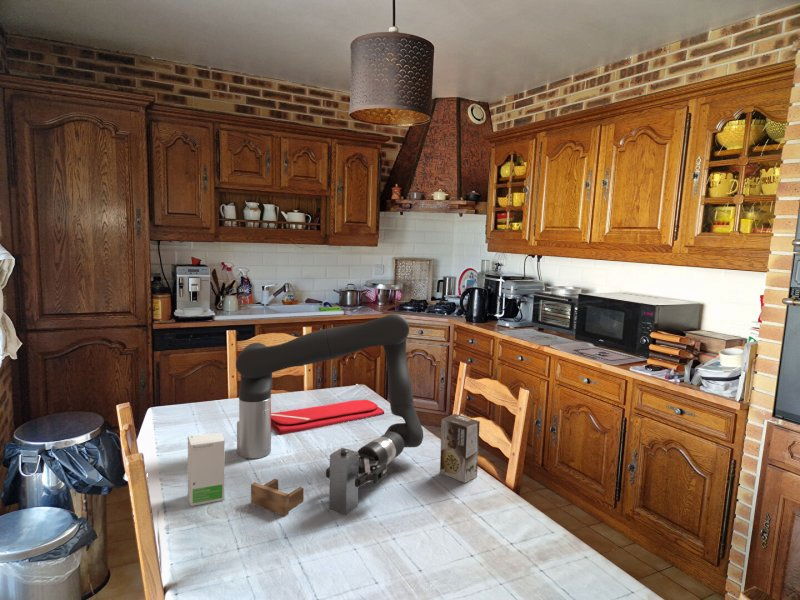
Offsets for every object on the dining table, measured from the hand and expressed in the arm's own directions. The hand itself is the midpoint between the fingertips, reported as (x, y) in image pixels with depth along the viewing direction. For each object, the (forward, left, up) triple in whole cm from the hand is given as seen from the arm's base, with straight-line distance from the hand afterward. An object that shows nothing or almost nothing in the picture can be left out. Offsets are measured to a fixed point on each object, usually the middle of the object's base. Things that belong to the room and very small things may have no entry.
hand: (341, 478), depth 124 cm
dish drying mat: (-42, +49, -9) cm, 65 cm away
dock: (-15, -5, -8) cm, 18 cm away
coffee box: (+17, +33, -8) cm, 38 cm away
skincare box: (-32, -13, -8) cm, 36 cm away
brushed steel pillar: (0, +1, -8) cm, 8 cm away
